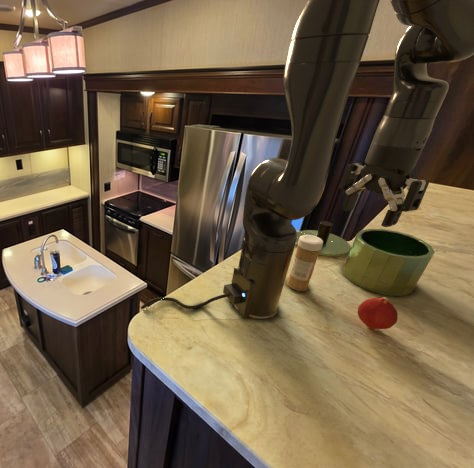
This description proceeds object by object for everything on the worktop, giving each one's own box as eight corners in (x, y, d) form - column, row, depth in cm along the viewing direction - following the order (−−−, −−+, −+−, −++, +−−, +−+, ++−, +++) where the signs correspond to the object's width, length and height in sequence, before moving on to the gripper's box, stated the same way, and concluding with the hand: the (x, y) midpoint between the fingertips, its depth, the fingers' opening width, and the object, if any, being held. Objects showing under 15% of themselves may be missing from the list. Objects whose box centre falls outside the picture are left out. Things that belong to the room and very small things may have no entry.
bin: (381, 300, 65) (400, 262, 60) (330, 268, 76) (343, 233, 71) (428, 290, 67) (451, 252, 62) (371, 259, 78) (387, 225, 73)
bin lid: (318, 261, 79) (326, 239, 76) (281, 237, 91) (286, 217, 88) (362, 253, 81) (371, 230, 78) (320, 230, 94) (326, 210, 90)
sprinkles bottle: (311, 286, 71) (327, 239, 64) (301, 294, 68) (317, 246, 62) (292, 277, 74) (305, 232, 67) (282, 284, 72) (295, 238, 65)
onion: (353, 312, 62) (366, 283, 59) (388, 324, 59) (405, 294, 55) (351, 329, 59) (365, 299, 55) (388, 343, 55) (407, 312, 51)
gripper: (347, 137, 61) (323, 207, 68) (426, 151, 48) (386, 235, 56) (375, 133, 62) (349, 203, 70) (460, 146, 50) (416, 229, 57)
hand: (366, 217), depth 63 cm, fingers open, 8 cm apart
